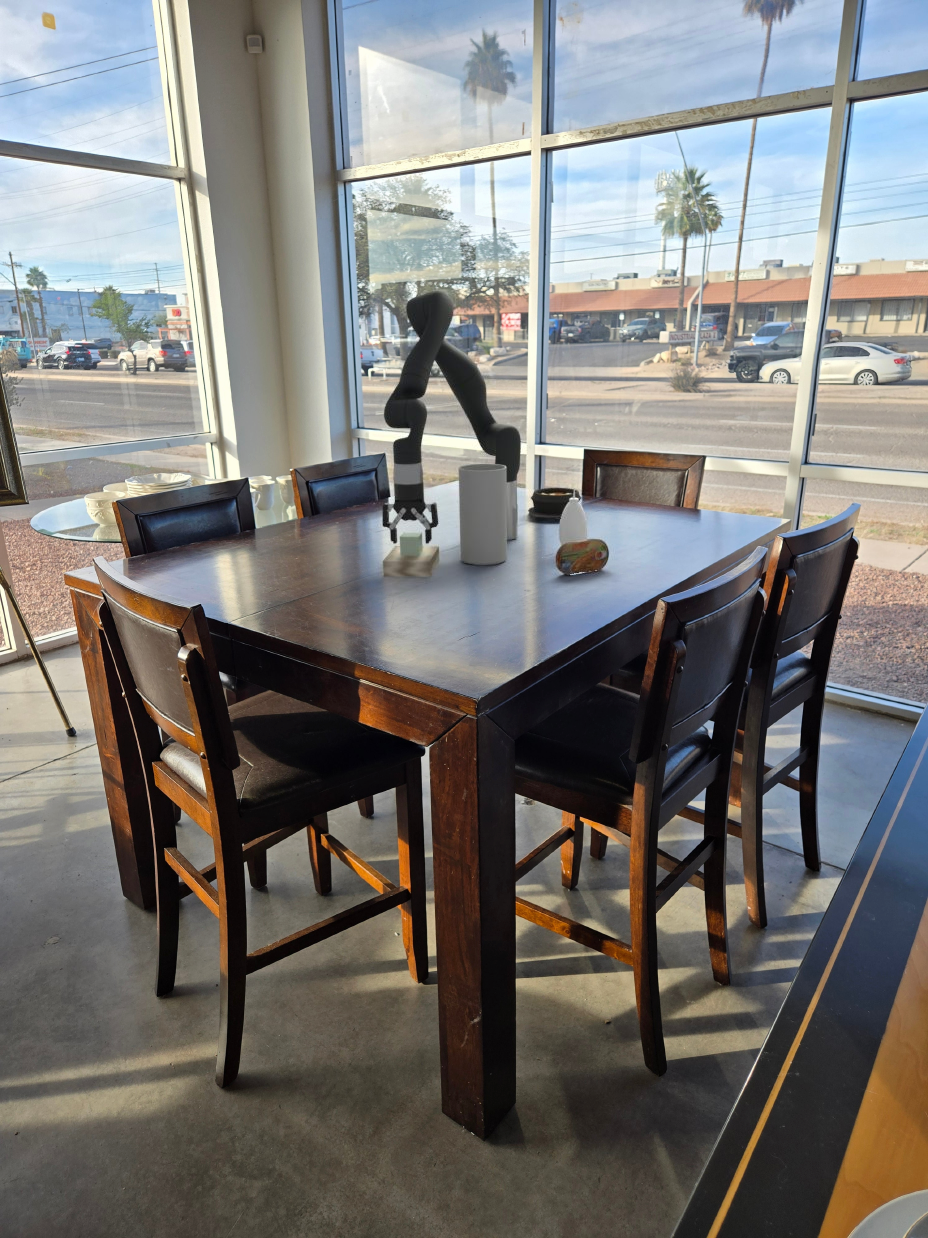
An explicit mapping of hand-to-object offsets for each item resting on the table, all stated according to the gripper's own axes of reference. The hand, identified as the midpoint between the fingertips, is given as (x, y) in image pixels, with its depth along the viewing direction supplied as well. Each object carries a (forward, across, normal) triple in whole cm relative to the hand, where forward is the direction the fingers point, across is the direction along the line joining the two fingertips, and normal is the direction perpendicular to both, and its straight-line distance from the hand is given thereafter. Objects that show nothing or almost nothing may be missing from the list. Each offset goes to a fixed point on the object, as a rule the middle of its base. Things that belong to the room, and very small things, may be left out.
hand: (411, 542), depth 207 cm
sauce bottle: (+7, -42, -17) cm, 46 cm away
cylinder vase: (+7, -18, -9) cm, 21 cm away
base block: (+7, 0, 0) cm, 7 cm away
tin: (+7, -44, +2) cm, 45 cm away
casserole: (+7, -37, -68) cm, 78 cm away
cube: (+3, 0, 0) cm, 3 cm away
